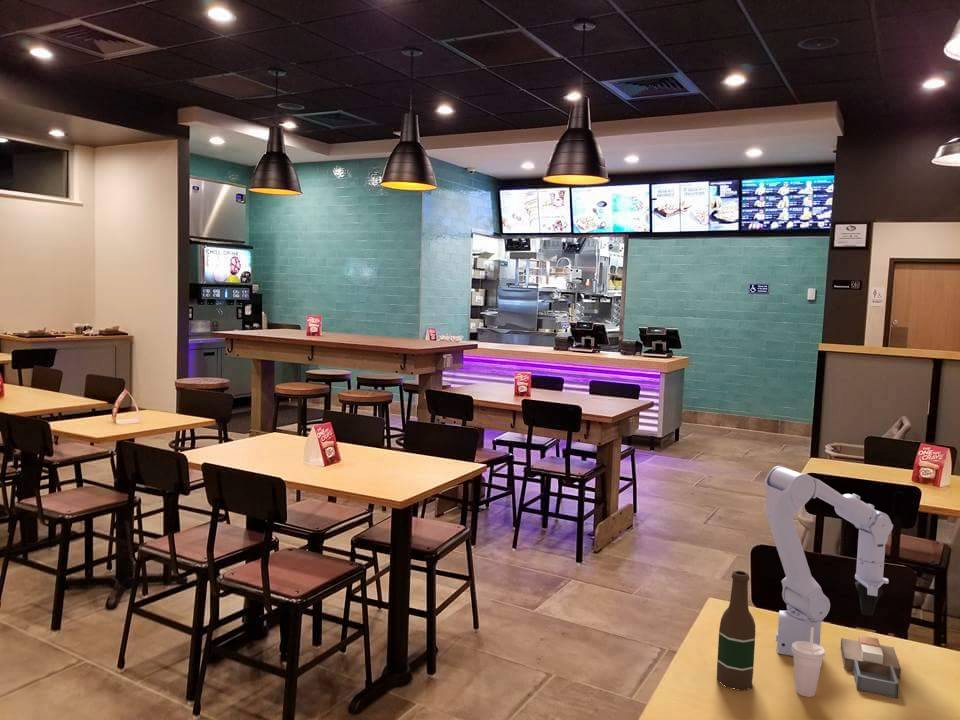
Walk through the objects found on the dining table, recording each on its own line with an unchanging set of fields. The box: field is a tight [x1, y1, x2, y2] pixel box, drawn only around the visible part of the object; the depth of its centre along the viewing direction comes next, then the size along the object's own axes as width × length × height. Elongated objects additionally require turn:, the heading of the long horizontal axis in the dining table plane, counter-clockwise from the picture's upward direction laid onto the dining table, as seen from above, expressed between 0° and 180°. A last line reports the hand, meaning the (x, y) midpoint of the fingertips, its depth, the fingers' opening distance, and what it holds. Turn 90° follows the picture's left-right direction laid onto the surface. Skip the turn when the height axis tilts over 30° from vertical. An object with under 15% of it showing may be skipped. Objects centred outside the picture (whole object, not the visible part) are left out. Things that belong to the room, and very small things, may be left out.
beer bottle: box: [716, 570, 756, 691], centre depth 155 cm, size 8×8×24 cm
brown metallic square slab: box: [840, 637, 902, 680], centre depth 166 cm, size 11×11×2 cm
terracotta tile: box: [857, 635, 881, 651], centre depth 168 cm, size 4×4×2 cm
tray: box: [852, 658, 900, 699], centre depth 157 cm, size 8×9×3 cm
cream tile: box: [860, 644, 883, 664], centre depth 163 cm, size 4×4×2 cm
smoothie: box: [791, 627, 826, 698], centre depth 152 cm, size 6×6×14 cm
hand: (866, 614), depth 174 cm, fingers closed
